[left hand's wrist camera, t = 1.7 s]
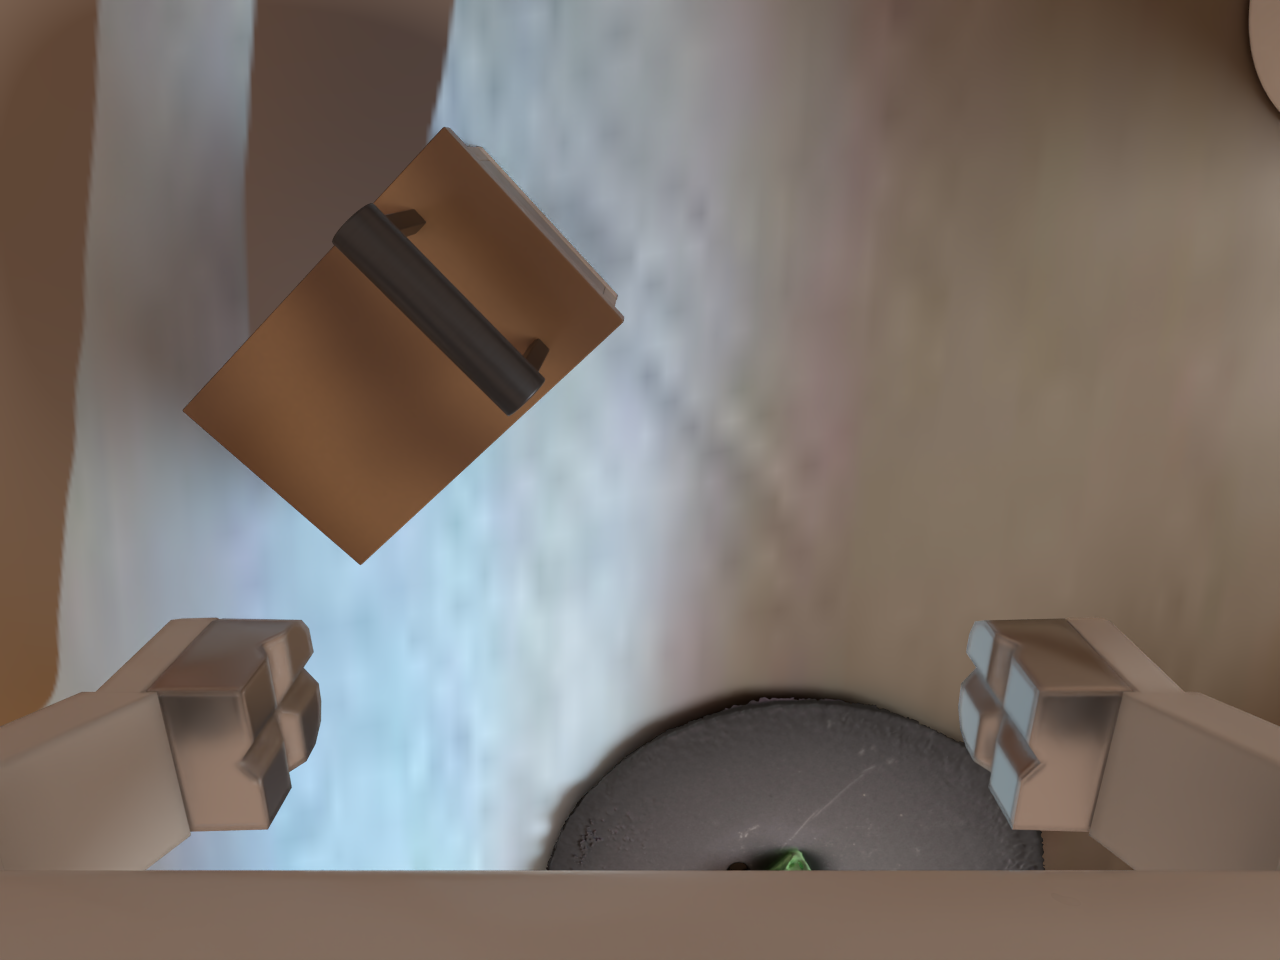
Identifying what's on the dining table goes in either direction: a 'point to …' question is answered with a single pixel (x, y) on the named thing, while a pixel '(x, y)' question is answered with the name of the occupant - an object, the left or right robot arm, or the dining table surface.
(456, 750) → the dining table surface
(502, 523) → the dining table surface
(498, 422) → the lid
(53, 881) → the left robot arm
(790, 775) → the round grey tray
